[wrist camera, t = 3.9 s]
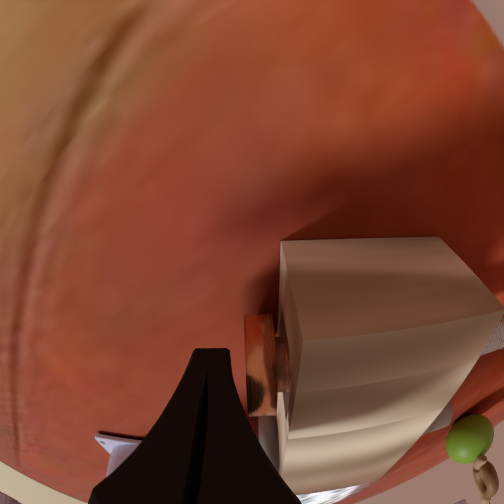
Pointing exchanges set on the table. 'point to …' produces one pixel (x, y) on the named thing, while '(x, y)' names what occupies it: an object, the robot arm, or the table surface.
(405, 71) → the table surface
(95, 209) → the table surface
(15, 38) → the table surface
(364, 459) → the beige block with pegs
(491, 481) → the snail figurine
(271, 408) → the lynch pin
